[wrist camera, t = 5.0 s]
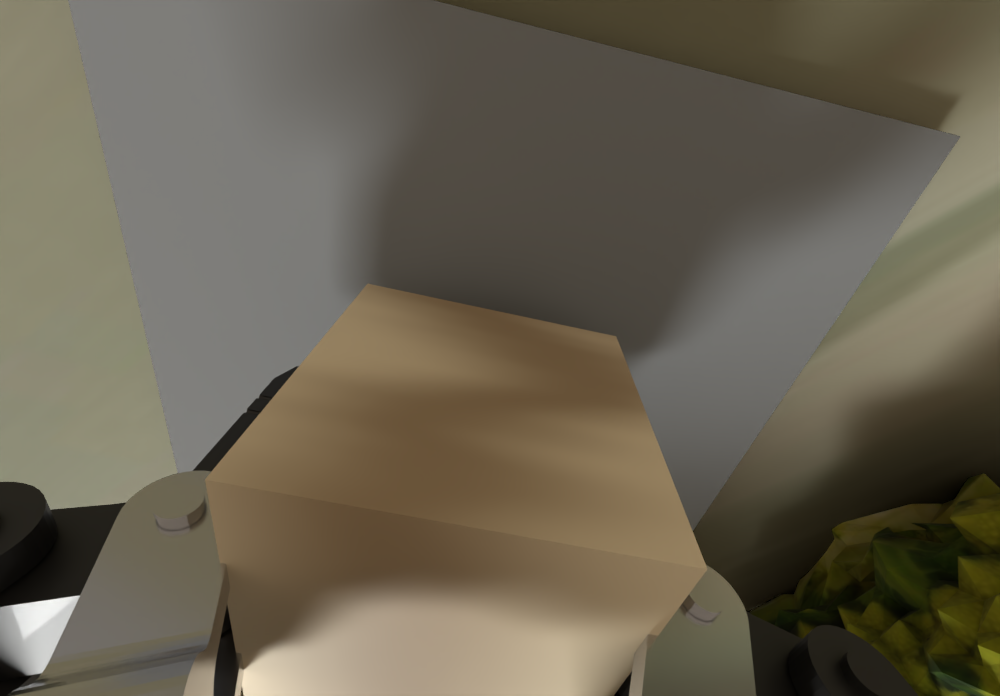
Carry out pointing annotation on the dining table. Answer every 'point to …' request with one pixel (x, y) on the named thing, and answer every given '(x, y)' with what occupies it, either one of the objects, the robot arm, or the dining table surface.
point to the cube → (449, 512)
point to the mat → (480, 200)
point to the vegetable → (913, 590)
